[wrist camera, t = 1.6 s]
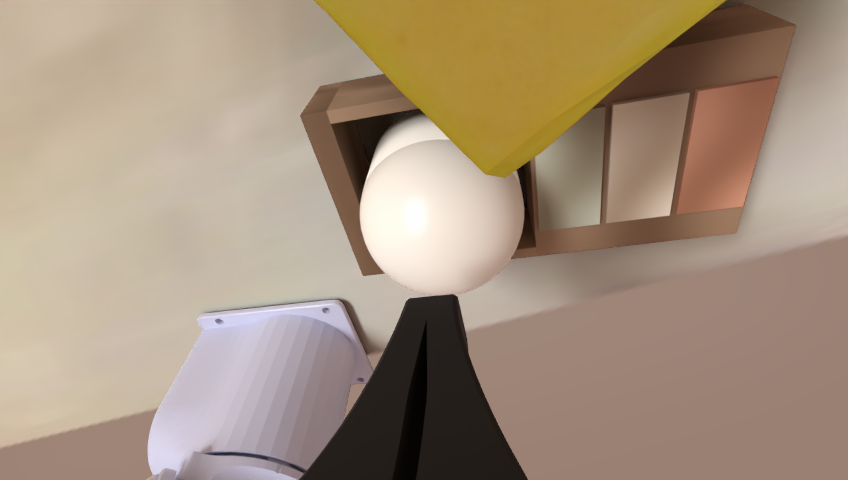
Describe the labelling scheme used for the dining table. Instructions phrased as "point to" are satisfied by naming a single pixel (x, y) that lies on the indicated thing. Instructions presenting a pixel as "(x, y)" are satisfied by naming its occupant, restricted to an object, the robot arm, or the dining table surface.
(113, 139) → the dining table surface
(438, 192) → the dome button
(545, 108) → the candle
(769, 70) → the brown shallow box
